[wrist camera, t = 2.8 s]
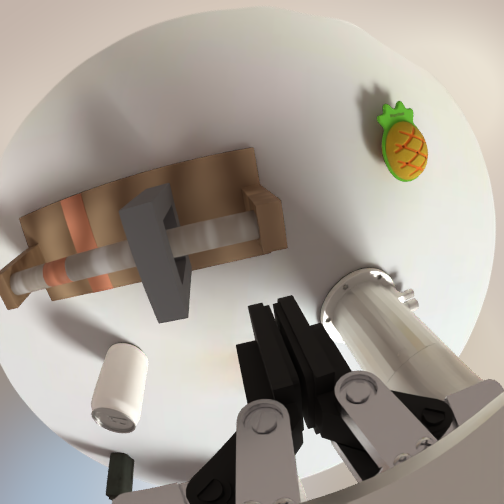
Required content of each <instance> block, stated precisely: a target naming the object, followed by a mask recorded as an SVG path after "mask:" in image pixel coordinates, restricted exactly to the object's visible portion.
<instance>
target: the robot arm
mask: <svg viewBox="0 0 504 504" xmlns="http://www.w3.org/2000/svg"><path fill="white" fill-rule="evenodd" d="M412 297H414V291H413V290H412V289H408V290H406V291H404V292H402V293H401V292H398V291H397V290H396V289H395V285H394V282H393V280H392V279H391V278H390V277H389V276H388V275H387V274H386V273H385V272H383V271H382V270H379V269H376V268H364V269H360V270H357V271H354V272H352V273H350V274H348V275H347V276H345V277H344V278H343V279H341V280H340V281H339V282H338V283H337V284H336V285H335V286H334V287H333V288H332V289H331V291H330V292H329V294H328V295H327V297H326V298H325V301H324V303H323V305H322V309H321V318H320V320H321V323H318V324H315V325H311V326H310V325H309V324H308V322H307V320H306V318H305V317H304V315H303V313H302V311H301V309H300V308H299V306H298V304H297V302H296V301H295V299H294V297H293V296H292V295H291V296H287V297H283V298H279V299H278V303H275V304H273V309H274V315H275V319H274V316H273V314H272V311H271V309H270V306H269V305H267V306H263V303H259V304H254V305H250V306H248V309H249V314H250V318H251V323H252V327H253V332H254V336H255V341H251V342H246V343H242V344H238V345H236V348H237V354H238V359H239V364H240V369H241V374H242V379H243V384H244V389H245V394H246V399H247V403H248V404H247V405H246V406H245V407H244V408H242V409H241V411H240V413H239V414H238V417H237V429H236V432H235V433H234V434H233V435H232V437H231V438H230V439H229V440H228V441H227V442H226V443H225V444H224V445H223V446H222V448H221V449H220V450H219V451H218V452H217V453H216V454H215V455H214V456H213V457H212V458H211V459H210V460H209V461H208V462H207V463H206V464H205V465H204V466H203V467H202V468H201V469H200V471H199V472H197V473H196V474H195V475H194V476H193V477H192V479H191V480H190V481H189V482H185V483H181V484H179V483H173V484H169V485H164V486H160V487H155V488H150V489H145V490H139V491H133V492H126V493H123V494H120V495H119V496H118V497H116V498H115V500H114V502H113V504H504V389H503V388H502V386H501V385H500V384H499V383H498V382H497V381H495V380H491V379H488V380H484V381H483V380H482V379H481V378H480V377H478V376H477V375H476V374H475V373H474V372H473V371H472V370H470V368H468V367H467V365H465V364H464V363H463V362H462V361H461V360H460V359H459V358H458V357H457V356H456V355H455V354H454V353H453V352H452V351H451V350H450V349H449V348H448V347H447V345H445V344H444V343H443V342H442V341H441V340H440V339H439V338H438V337H437V336H436V335H435V334H434V333H433V332H432V331H431V330H430V329H429V328H428V327H427V326H426V325H425V324H424V323H423V322H422V321H421V320H420V319H419V318H418V317H417V316H416V315H415V314H414V313H413V311H415V310H417V309H418V307H419V305H418V301H417V300H416V299H415V298H413V299H411V300H408V301H406V302H404V303H403V300H407V299H409V298H412ZM333 340H334V341H337V342H340V343H345V344H346V345H347V347H348V348H349V350H350V352H351V353H352V355H353V356H354V358H355V359H356V361H357V362H358V364H359V365H360V367H361V369H362V370H363V371H351V369H350V368H349V366H348V364H347V363H346V361H345V360H344V358H343V356H342V355H341V353H340V351H339V350H338V348H337V347H336V345H335V343H334V342H333ZM303 417H304V420H305V423H306V425H307V427H308V429H310V428H314V431H315V433H316V434H319V433H320V434H321V437H322V438H325V439H328V440H331V443H332V445H333V447H334V448H335V450H336V451H337V453H338V454H339V455H340V457H341V458H342V460H343V461H344V463H345V464H346V466H347V467H348V469H349V470H350V472H351V473H352V475H353V476H354V477H355V479H356V480H357V482H358V484H355V485H353V486H350V487H348V488H345V489H342V490H340V491H337V492H334V493H331V494H328V495H325V496H322V497H319V498H316V499H312V500H309V501H305V502H302V503H301V500H300V491H299V483H298V475H297V467H296V459H295V455H296V453H297V452H298V450H299V449H300V447H301V446H302V444H303V433H302V431H303V430H304V424H303Z"/></svg>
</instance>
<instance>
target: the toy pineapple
mask: <svg viewBox="0 0 504 504" xmlns="http://www.w3.org/2000/svg"><path fill="white" fill-rule="evenodd" d="M377 121H378V123H379V124H380V125H381V126H382V127H383V129H384V133H383V137H382V154H383V158H384V161H385V163H386V166H387V167H388V169H389V171H390V172H391V174H392V175H393V176H394V177H395V178H396V179H398V180H400V181H403V182H407V181H412V180H414V179H416V178H417V177H418V176H419V175H420V174H421V173H422V172H423V170H424V169H425V167H426V164H427V158H428V150H427V145H426V142H425V139H424V137H423V135H422V134H421V132H420V131H419V130H418V128H417V127H416V126H415V125H414V123H413V110H412V109H411V108H408V109H406V108H405V106H404V105H403V103H402V102H401V101H398V102H397V103H396V106H395V108H394V109H393V108H391V107H390V106H389V105H388V104H384V105H383V114H382V115H379V116H377Z"/></svg>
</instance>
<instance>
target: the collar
mask: <svg viewBox="0 0 504 504" xmlns="http://www.w3.org/2000/svg"><path fill="white" fill-rule="evenodd" d="M119 215H120V218H121V221H122V225H123V228H124V231H125V234H126V238H127V241H128V244H129V247H130V250H131V253H132V256H133V258H134V261H135V264H136V267H137V270H138V272H139V275H140V278H141V281H142V283H143V286H144V288H145V291H146V294H147V296H148V299H149V301H150V304H151V306H152V308H153V311H154V313H155V316H156V318H157V320H158V323H164V322H170V321H175V320H180V319H185V318H188V313H189V298H190V284H191V272H192V266H191V263H190V259H189V256H188V255H184V256H180V257H175V258H174V257H173V254H172V250H171V247H170V244H169V240H168V237H167V233H166V230H168V229H172V228H176V227H180V223H179V219H178V215H177V211H176V207H175V203H174V199H173V195H172V191H171V187H170V183H166V184H162V185H158V186H155V187H151V188H147V189H145V190H144V191H143V192H141V193H140V194H139V195H138V196H136V197H135V198H134V199H133V200H131V201H130V202H129V203H128V204H126V205H125V206H124V207H123V208H121V209H120V210H119Z"/></svg>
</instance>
